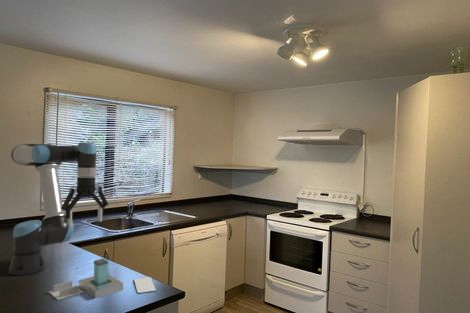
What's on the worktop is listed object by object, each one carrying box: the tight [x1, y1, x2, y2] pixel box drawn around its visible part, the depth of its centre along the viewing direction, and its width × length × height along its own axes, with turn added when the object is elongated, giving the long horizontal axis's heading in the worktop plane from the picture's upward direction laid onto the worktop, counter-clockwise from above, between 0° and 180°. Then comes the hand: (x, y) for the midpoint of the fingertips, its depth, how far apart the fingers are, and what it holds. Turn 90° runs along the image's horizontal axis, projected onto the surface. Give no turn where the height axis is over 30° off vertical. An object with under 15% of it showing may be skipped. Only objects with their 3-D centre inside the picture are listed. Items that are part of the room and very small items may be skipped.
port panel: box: [78, 273, 124, 299], centre depth 147 cm, size 16×12×3 cm
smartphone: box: [133, 276, 157, 295], centre depth 151 cm, size 8×1×16 cm
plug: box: [93, 258, 109, 285], centre depth 147 cm, size 4×4×12 cm
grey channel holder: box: [48, 280, 84, 301], centre depth 142 cm, size 10×10×3 cm
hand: (85, 223), depth 155 cm, fingers open, 13 cm apart
